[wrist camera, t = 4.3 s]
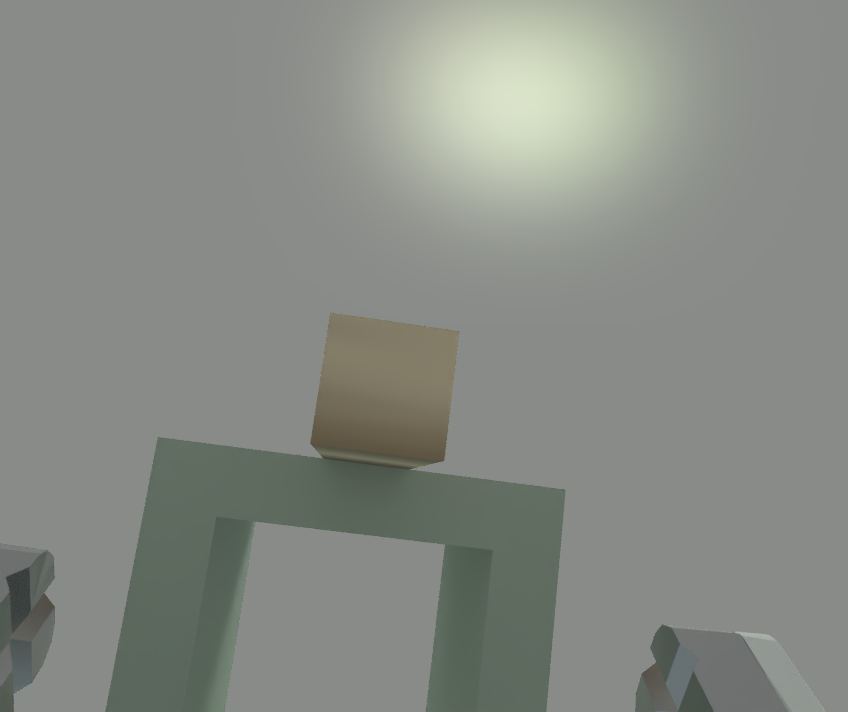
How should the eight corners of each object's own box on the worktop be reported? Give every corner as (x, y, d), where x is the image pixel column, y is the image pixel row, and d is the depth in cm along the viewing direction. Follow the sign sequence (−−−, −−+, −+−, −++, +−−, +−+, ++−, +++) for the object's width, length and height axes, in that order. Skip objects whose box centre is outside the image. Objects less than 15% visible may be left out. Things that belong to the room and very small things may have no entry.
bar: (443, 460, 14) (459, 331, 14) (310, 443, 14) (330, 312, 14) (387, 474, 32) (395, 418, 33) (331, 467, 32) (339, 410, 33)
